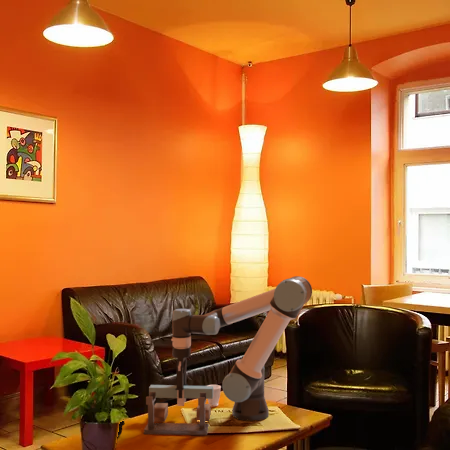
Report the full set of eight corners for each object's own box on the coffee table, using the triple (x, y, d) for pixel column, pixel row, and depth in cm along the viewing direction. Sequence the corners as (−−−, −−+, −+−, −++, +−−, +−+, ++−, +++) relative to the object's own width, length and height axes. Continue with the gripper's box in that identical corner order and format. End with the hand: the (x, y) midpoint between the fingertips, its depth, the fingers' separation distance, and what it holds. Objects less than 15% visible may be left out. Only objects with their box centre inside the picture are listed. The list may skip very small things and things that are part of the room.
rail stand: (208, 427, 227) (208, 392, 227) (206, 435, 219) (206, 398, 219) (148, 426, 229) (147, 391, 229) (143, 434, 221) (143, 397, 221)
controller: (117, 430, 225) (117, 404, 225) (125, 441, 214) (125, 414, 214) (106, 432, 223) (106, 406, 223) (114, 443, 212) (114, 415, 212)
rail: (213, 395, 239) (213, 386, 239) (212, 398, 235) (212, 388, 235) (151, 394, 241) (151, 384, 241) (149, 397, 237) (149, 387, 237)
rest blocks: (210, 415, 241) (210, 403, 241) (208, 422, 233) (208, 410, 233) (156, 414, 243) (156, 402, 243) (152, 421, 235) (152, 409, 235)
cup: (223, 406, 254) (223, 388, 254) (201, 408, 250) (201, 390, 250) (218, 401, 260) (218, 383, 260) (197, 404, 257) (197, 385, 257)
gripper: (175, 342, 247) (175, 397, 247) (169, 351, 230) (169, 410, 230) (193, 342, 246) (193, 397, 246) (187, 351, 229) (187, 410, 229)
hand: (181, 403), depth 238 cm, fingers closed on rail, 4 cm apart
